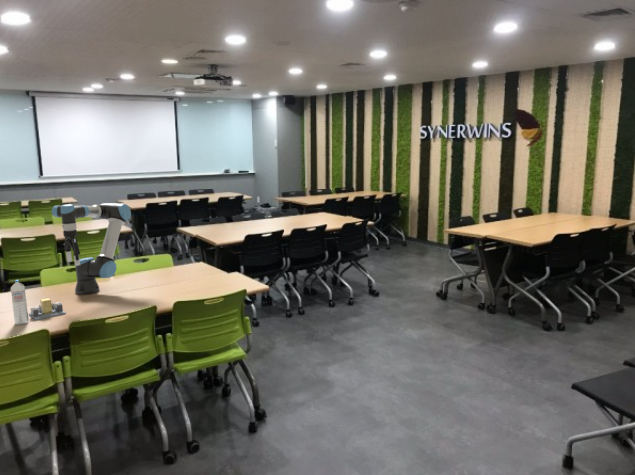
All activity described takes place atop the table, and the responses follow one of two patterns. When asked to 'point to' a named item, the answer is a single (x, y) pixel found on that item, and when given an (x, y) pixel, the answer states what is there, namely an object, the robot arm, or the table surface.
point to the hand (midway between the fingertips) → (73, 263)
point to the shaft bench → (56, 310)
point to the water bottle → (19, 303)
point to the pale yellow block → (46, 306)
